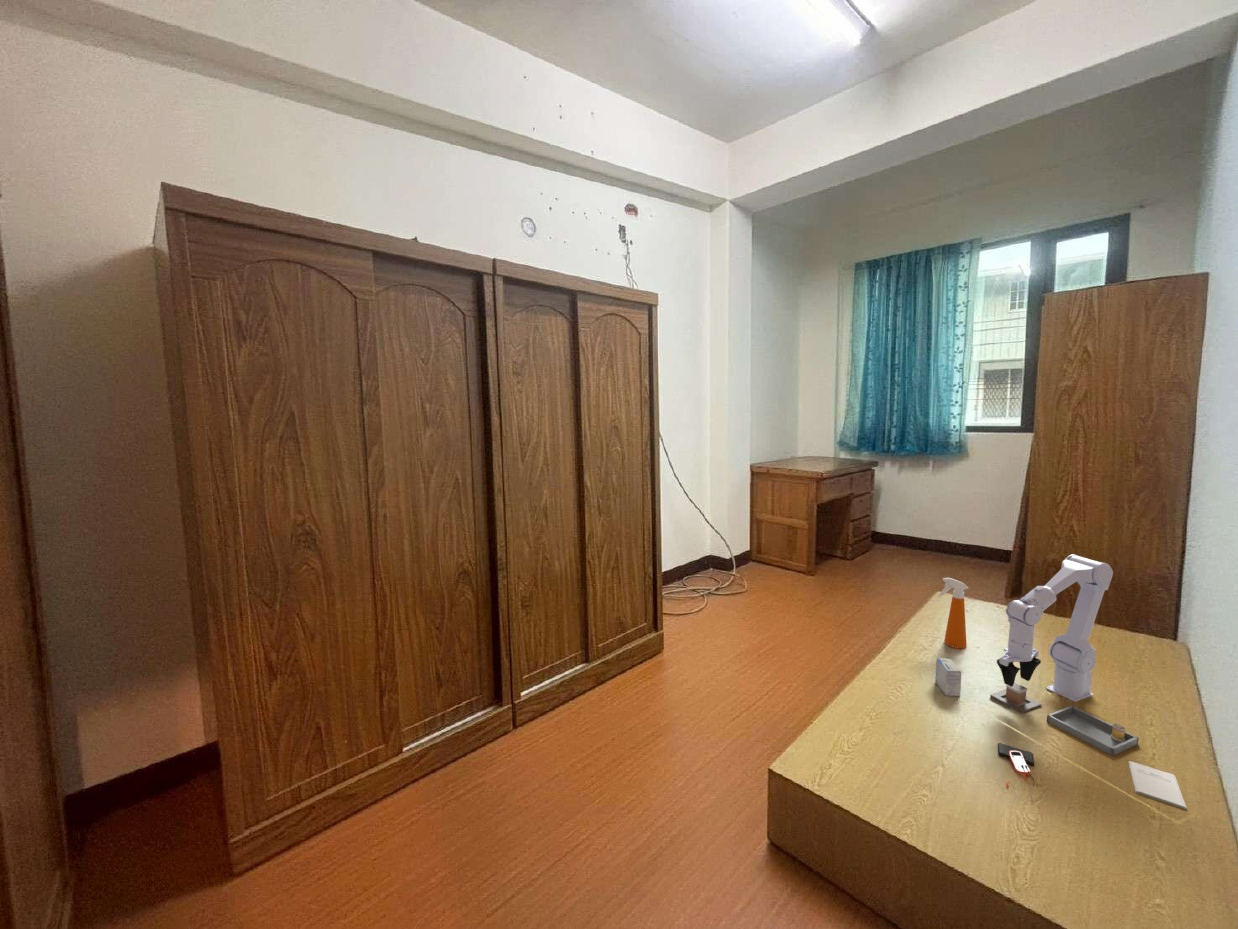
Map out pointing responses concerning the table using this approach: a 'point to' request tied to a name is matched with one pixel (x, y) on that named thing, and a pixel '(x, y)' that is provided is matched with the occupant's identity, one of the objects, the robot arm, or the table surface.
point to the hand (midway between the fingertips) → (1016, 682)
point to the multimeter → (1017, 759)
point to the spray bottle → (955, 614)
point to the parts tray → (1090, 730)
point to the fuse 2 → (1118, 732)
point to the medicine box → (948, 677)
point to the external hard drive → (1156, 784)
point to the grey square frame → (1021, 709)
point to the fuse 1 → (1016, 694)
